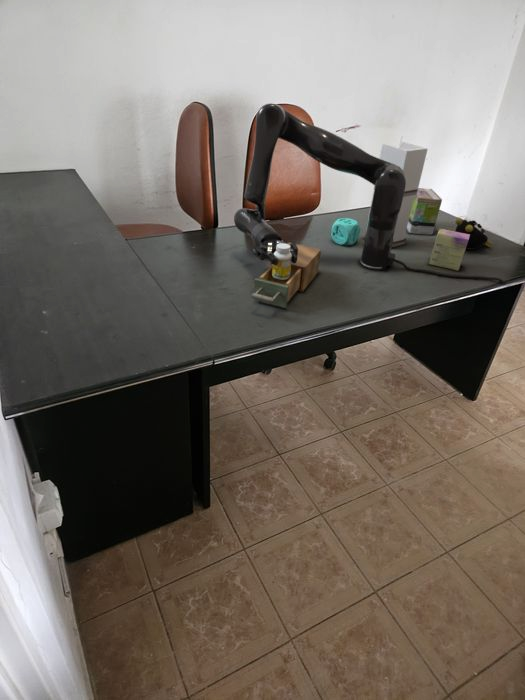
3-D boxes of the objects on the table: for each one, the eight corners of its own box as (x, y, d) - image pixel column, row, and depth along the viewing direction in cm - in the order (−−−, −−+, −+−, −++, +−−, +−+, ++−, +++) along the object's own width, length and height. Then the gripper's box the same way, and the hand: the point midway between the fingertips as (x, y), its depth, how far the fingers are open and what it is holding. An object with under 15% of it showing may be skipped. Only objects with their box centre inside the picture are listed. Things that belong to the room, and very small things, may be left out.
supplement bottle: (292, 278, 140) (295, 248, 135) (276, 281, 139) (278, 250, 133) (285, 271, 144) (287, 241, 139) (269, 273, 143) (271, 243, 137)
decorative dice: (346, 247, 178) (350, 227, 174) (329, 241, 183) (332, 221, 178) (358, 242, 183) (361, 222, 179) (341, 236, 188) (344, 216, 183)
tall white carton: (404, 243, 185) (427, 148, 164) (385, 248, 179) (406, 151, 159) (383, 233, 192) (402, 141, 172) (364, 238, 187) (382, 143, 167)
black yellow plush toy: (484, 263, 182) (492, 234, 170) (446, 255, 188) (451, 226, 176) (494, 242, 187) (501, 213, 174) (456, 234, 193) (461, 205, 181)
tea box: (433, 235, 194) (443, 199, 185) (408, 233, 193) (417, 197, 185) (423, 222, 206) (432, 187, 197) (400, 220, 206) (408, 186, 197)
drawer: (278, 316, 133) (279, 295, 129) (245, 308, 136) (246, 287, 132) (302, 287, 148) (304, 268, 144) (272, 280, 151) (273, 260, 147)
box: (460, 265, 171) (470, 233, 164) (458, 271, 166) (468, 239, 159) (431, 258, 174) (439, 227, 167) (428, 264, 170) (437, 233, 163)
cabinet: (302, 292, 148) (305, 267, 143) (268, 283, 151) (270, 259, 146) (317, 272, 159) (321, 249, 155) (286, 265, 163) (288, 242, 158)
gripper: (286, 247, 153) (307, 270, 140) (243, 251, 149) (261, 275, 136) (288, 225, 149) (309, 246, 136) (244, 228, 145) (262, 251, 132)
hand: (285, 261), depth 136 cm, fingers closed on supplement bottle, 5 cm apart
